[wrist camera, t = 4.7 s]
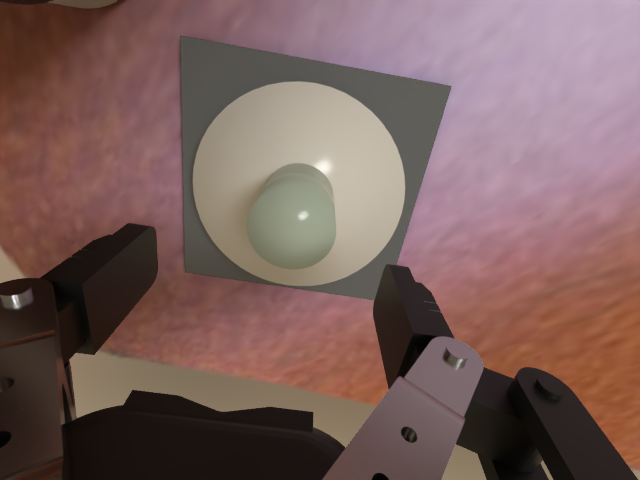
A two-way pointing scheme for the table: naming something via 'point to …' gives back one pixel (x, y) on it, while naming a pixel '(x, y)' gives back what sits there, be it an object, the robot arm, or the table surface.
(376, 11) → the table surface
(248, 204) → the lid
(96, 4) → the coffee cup
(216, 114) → the mat
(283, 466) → the robot arm
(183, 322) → the table surface
